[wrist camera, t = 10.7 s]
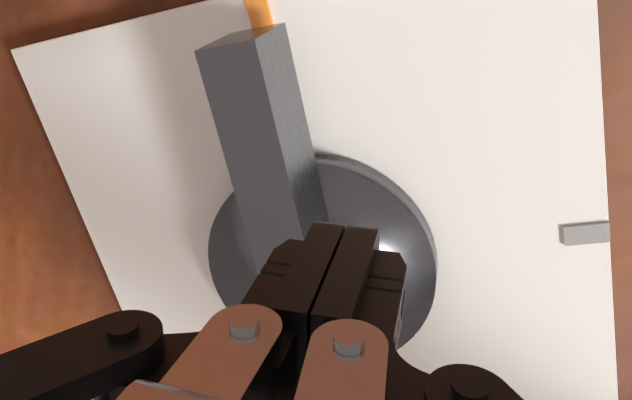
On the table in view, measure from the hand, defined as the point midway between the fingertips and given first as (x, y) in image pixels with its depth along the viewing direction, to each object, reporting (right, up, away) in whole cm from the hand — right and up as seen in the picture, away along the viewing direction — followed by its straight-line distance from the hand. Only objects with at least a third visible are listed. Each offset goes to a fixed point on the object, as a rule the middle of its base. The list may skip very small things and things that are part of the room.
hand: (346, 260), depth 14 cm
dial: (-1, +1, +17) cm, 17 cm away
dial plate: (0, -1, +20) cm, 20 cm away
